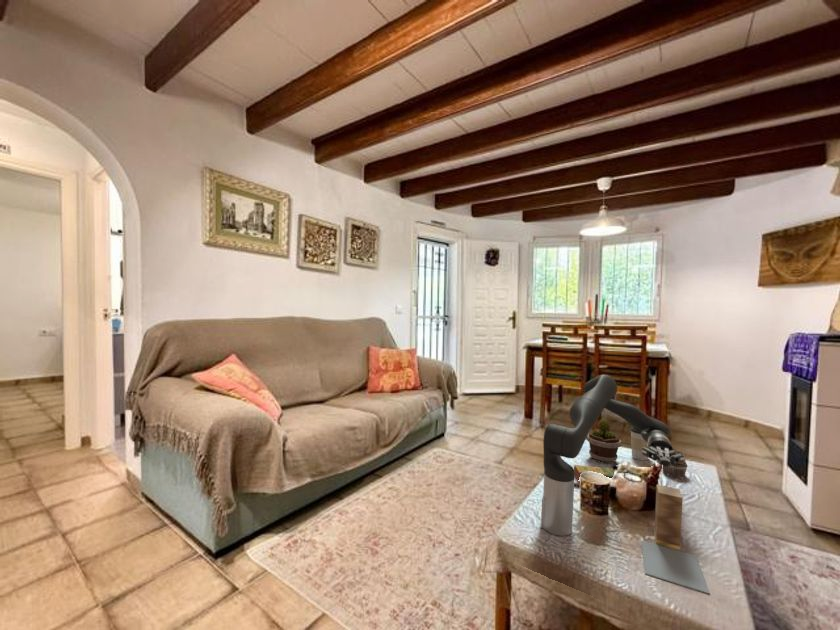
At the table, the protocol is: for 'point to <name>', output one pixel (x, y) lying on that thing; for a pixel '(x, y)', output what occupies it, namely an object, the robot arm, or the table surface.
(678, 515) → the walnut block
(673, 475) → the cupcake
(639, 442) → the coffee cup
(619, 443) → the flowerpot
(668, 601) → the table surface
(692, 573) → the slate mat
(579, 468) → the carton
